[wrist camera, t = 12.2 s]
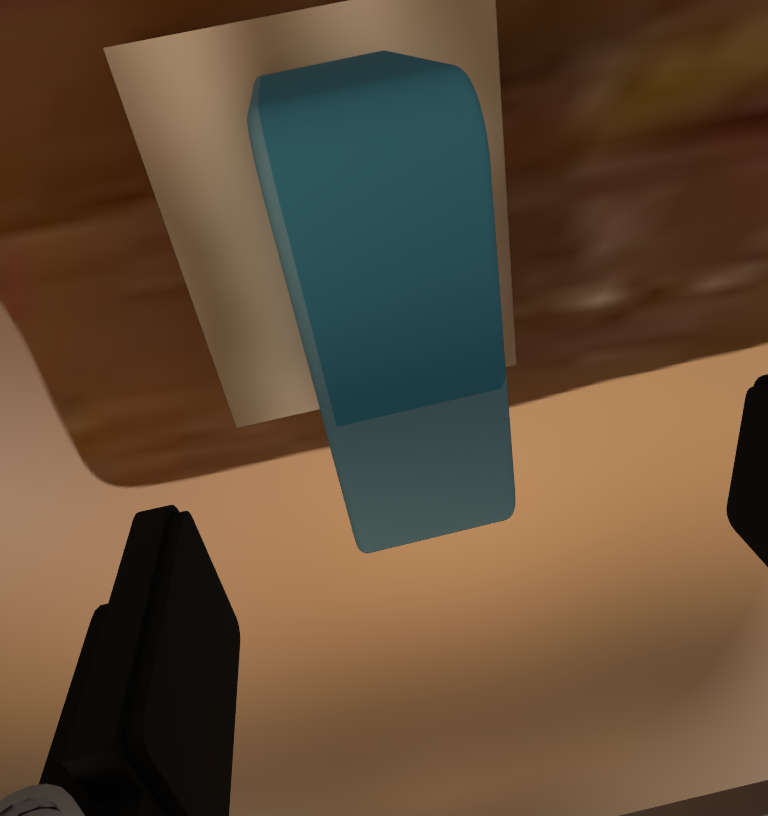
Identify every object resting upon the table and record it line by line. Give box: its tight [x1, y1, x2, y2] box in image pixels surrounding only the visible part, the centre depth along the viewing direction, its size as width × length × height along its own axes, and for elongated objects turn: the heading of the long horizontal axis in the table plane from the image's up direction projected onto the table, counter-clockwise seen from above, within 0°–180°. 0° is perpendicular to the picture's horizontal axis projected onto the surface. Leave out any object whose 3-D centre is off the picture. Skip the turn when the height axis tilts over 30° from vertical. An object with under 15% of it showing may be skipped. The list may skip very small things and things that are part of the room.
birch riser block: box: [103, 0, 516, 428], centre depth 27 cm, size 13×15×5 cm
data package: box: [247, 50, 515, 553], centre depth 20 cm, size 12×4×12 cm, turn 10°
